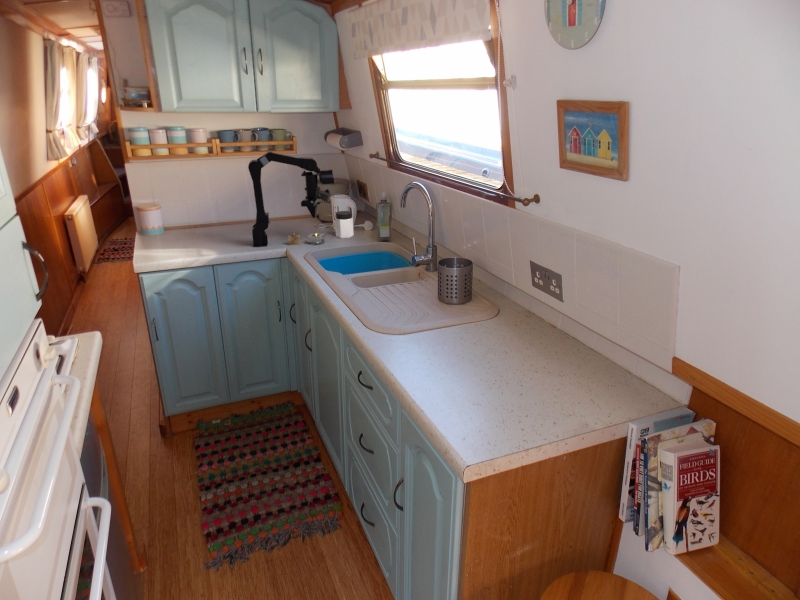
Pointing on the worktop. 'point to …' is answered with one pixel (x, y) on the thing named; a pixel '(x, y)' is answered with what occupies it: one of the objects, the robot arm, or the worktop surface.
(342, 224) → the jar
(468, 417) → the worktop surface
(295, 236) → the stand
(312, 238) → the square frame block
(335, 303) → the worktop surface
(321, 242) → the hub
